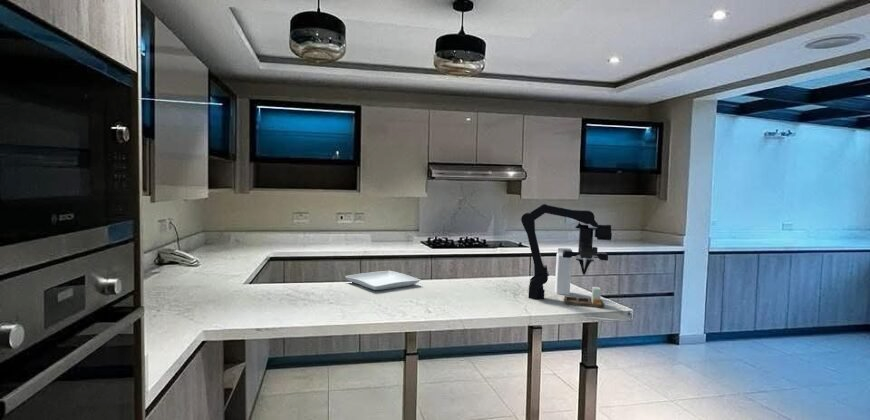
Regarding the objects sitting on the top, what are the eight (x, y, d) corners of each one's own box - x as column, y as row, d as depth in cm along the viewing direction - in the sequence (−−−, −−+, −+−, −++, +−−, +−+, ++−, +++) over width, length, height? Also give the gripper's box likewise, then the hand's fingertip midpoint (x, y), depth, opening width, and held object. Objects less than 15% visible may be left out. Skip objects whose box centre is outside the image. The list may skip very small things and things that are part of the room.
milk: (554, 292, 230) (556, 247, 228) (567, 293, 229) (569, 247, 228) (556, 295, 224) (558, 248, 222) (569, 296, 223) (572, 249, 222)
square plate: (389, 276, 254) (389, 269, 253) (421, 286, 233) (421, 279, 233) (344, 282, 236) (344, 274, 236) (374, 293, 215) (374, 285, 215)
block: (592, 305, 204) (593, 289, 204) (591, 302, 210) (592, 286, 210) (599, 306, 204) (600, 290, 203) (598, 302, 210) (599, 287, 209)
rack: (564, 306, 205) (565, 297, 204) (563, 300, 215) (564, 291, 215) (604, 310, 201) (605, 300, 201) (601, 303, 212) (602, 294, 211)
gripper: (564, 239, 202) (562, 276, 203) (611, 242, 198) (608, 280, 199) (563, 237, 213) (561, 271, 214) (607, 239, 209) (605, 275, 210)
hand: (583, 274), depth 209 cm, fingers closed
